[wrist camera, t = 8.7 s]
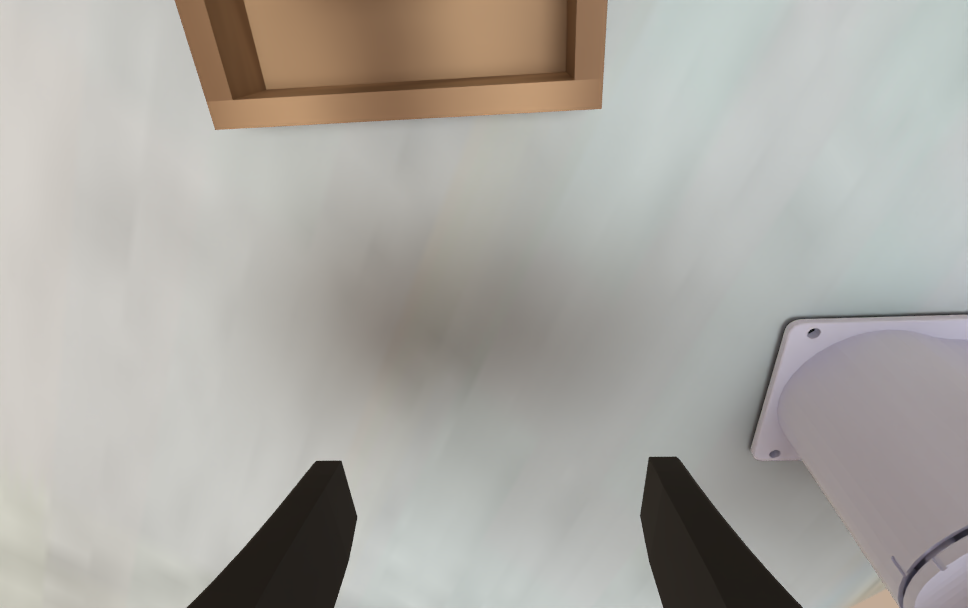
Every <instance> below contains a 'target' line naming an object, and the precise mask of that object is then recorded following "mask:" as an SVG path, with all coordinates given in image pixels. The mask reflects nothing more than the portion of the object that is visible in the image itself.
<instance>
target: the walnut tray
mask: <svg viewBox="0 0 968 608" xmlns="http://www.w3.org/2000/svg"><path fill="white" fill-rule="evenodd" d="M607 1H608V0H175V3H176V6H177V9H178V12H179V15H180V19H181V22H182V25H183V28H184V31H185V34H186V38H187V41H188V44H189V47H190V50H191V54H192V57H193V60H194V63H195V66H196V70H197V73H198V76H199V79H200V82H201V86H202V89H203V92H204V95H205V98H206V102H207V105H208V108H209V111H210V114H211V117H212V121H213V124H214V127H215V130H220V129H238V128H256V127H275V126H293V125H312V124H330V123H348V122H367V121H385V120H404V119H422V118H441V117H459V116H477V115H496V114H514V113H533V112H551V111H569V110H588V109H601V108H602V90H603V73H604V55H605V37H606V19H607Z"/></svg>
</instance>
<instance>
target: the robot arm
mask: <svg viewBox="0 0 968 608" xmlns="http://www.w3.org/2000/svg"><path fill="white" fill-rule="evenodd" d="M814 328H815V330H814V331H813V332H811V333H808V332H809V331H810V330H811V329H814ZM807 333H808V334H807ZM773 450H774V451H773ZM751 453H752V455H753V457H754V458H755V459H757V460H761V461H773V460H802V461H803V463H804V464H805V466H806V467H807V469H808V470H809V472H810V473H811V475H812V476H813V478H814V479H815V481H816V482H817V484H818V485H819V487H820V488H821V490H822V491H823V493H824V494H825V496H826V497H827V499H828V500H829V502H830V504H831V505H832V507H833V508H834V510H835V511H836V513H837V514H838V516H839V517H840V519H841V520H842V522H843V523H844V525H845V526H846V528H847V529H848V531H849V532H850V534H851V535H852V537H853V538H854V540H855V541H856V543H857V544H858V546H859V547H860V549H861V550H862V552H863V553H864V555H865V556H866V558H867V559H868V561H869V562H870V564H871V565H872V567H873V568H874V570H875V571H876V573H877V574H878V576H879V577H880V579H881V580H882V582H883V583H884V585H885V586H886V588H887V589H888V591H889V592H890V594H891V595H892V597H893V598H894V600H895V601H896V603H897V604H898V606H899V607H900V608H968V315H935V316H899V317H863V318H828V319H799V320H795V321H793V322H791V323H790V324H789V325H787V327H786V329H785V332H784V335H783V339H782V342H781V345H780V349H779V352H778V356H777V359H776V363H775V366H774V370H773V373H772V377H771V380H770V384H769V387H768V390H767V394H766V397H765V401H764V404H763V408H762V411H761V415H760V418H759V422H758V425H757V429H756V432H755V435H754V439H753V442H752V446H751ZM640 517H641V522H642V527H643V533H644V538H645V543H646V548H647V553H648V558H649V562H650V566H651V569H652V572H653V575H654V579H655V582H656V585H657V588H658V592H659V595H660V598H661V601H662V605H663V608H803V607H802V606H801V605H800V604H799V603H798V602H797V601H796V600H795V599H794V598H793V597H792V596H791V595H790V594H789V593H788V592H787V591H786V589H785V588H784V587H783V586H782V585H781V584H780V583H779V582H778V581H777V580H776V579H775V577H774V576H773V575H772V574H771V573H770V572H769V571H768V570H767V569H766V568H765V566H764V565H763V564H762V563H761V562H760V561H759V560H758V559H757V557H756V556H755V555H754V554H753V553H752V552H751V550H750V549H749V548H748V547H747V546H746V545H745V543H744V542H743V541H742V540H741V538H740V537H739V536H738V535H737V534H736V532H735V531H734V530H733V529H732V528H731V526H730V525H729V524H728V523H727V522H726V520H725V519H724V518H723V517H722V515H721V514H720V513H719V512H718V510H717V509H716V508H715V506H714V505H713V504H712V503H711V501H710V500H709V499H708V497H707V496H706V495H705V493H704V492H703V491H702V489H701V488H700V487H699V485H698V484H697V483H696V481H695V480H694V479H693V477H692V476H691V475H690V473H689V472H688V470H687V469H686V468H685V466H684V465H683V463H682V462H681V461H680V460H679V459H678V458H677V457H649V461H648V467H647V474H646V481H645V487H644V494H643V501H642V507H641V514H640ZM356 521H357V514H356V511H355V507H354V504H353V500H352V497H351V493H350V489H349V486H348V482H347V479H346V475H345V472H344V468H343V465H342V461H316V462H315V463H314V464H313V465H312V466H311V467H310V469H309V470H308V471H307V472H306V474H305V475H304V476H303V477H302V479H301V480H300V481H299V482H298V484H297V485H296V486H295V487H294V489H293V490H292V491H291V492H290V494H289V495H288V496H287V497H286V499H285V500H284V501H283V502H282V503H281V505H280V506H279V507H278V508H277V509H276V511H275V512H274V513H273V514H272V516H271V517H270V518H269V519H268V520H267V521H266V523H265V524H264V525H263V526H262V527H261V528H260V530H259V531H258V532H257V533H256V534H255V535H254V537H253V538H252V539H251V540H250V541H249V542H248V544H247V545H246V546H245V547H244V548H243V549H242V550H241V551H240V552H239V554H238V555H237V556H236V557H235V558H234V559H233V560H232V561H231V562H230V563H229V564H228V565H227V567H226V568H225V569H224V570H223V571H222V572H221V573H220V574H219V575H218V576H217V577H216V578H215V580H214V581H213V582H212V583H211V584H210V585H209V586H208V587H207V588H206V589H205V590H204V591H203V592H202V593H201V594H200V595H199V596H198V597H197V598H196V599H195V600H194V601H193V602H192V603H191V604H190V605H189V606H188V607H187V608H334V606H335V603H336V600H337V597H338V593H339V590H340V587H341V584H342V581H343V578H344V574H345V571H346V568H347V565H348V561H349V557H350V552H351V547H352V542H353V537H354V532H355V526H356Z"/></svg>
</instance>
